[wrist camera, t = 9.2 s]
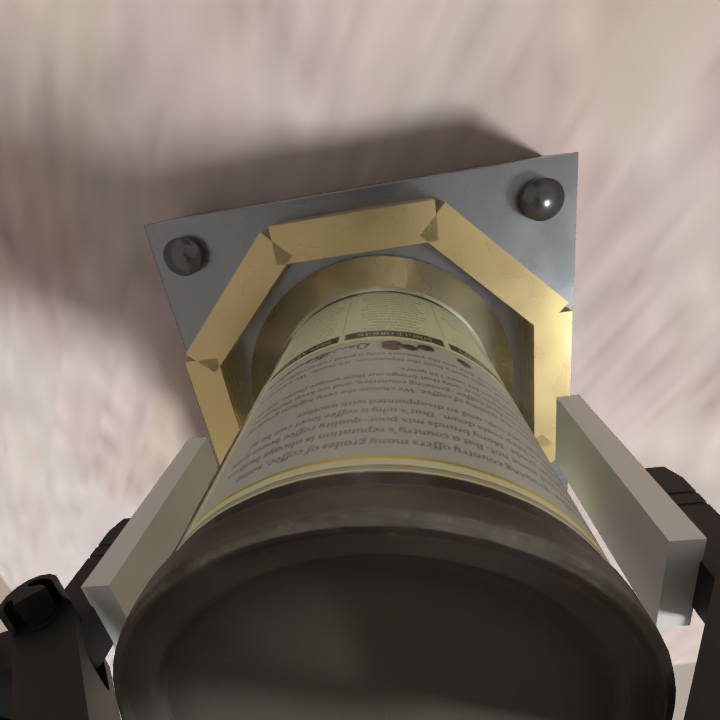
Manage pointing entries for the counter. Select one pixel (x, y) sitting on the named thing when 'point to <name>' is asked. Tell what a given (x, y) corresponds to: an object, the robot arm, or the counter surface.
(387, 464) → the coffee can
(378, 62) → the counter surface
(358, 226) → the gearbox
